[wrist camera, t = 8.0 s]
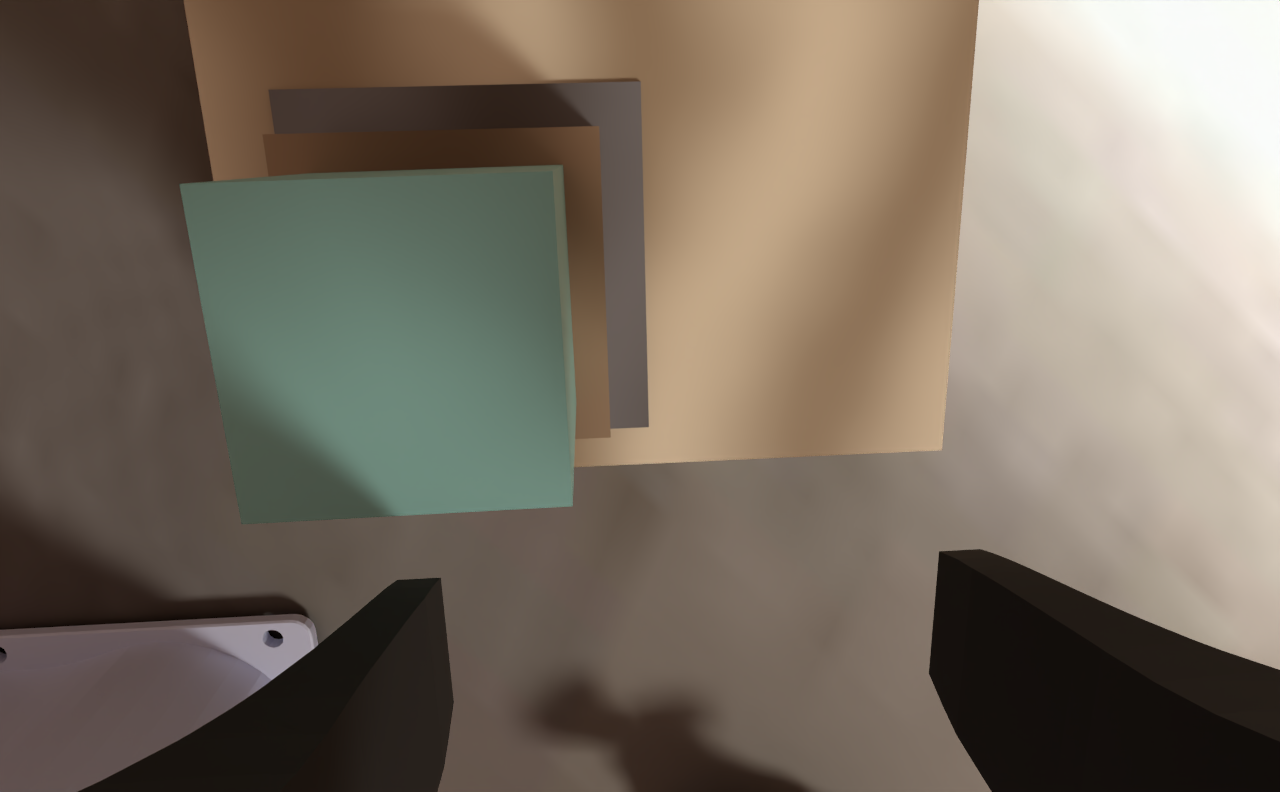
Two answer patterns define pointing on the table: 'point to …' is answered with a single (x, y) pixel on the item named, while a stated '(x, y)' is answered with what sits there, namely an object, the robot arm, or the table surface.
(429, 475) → the teal block
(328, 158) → the walnut base block
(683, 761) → the table surface
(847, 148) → the board
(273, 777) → the robot arm
